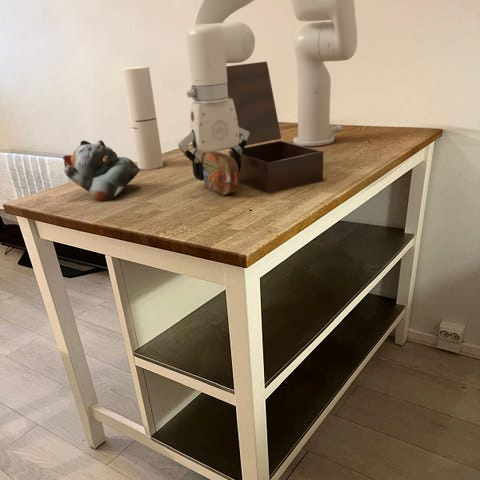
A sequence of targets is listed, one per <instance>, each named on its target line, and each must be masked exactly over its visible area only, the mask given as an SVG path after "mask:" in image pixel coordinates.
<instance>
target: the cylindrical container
mask: <svg viewBox="0 0 480 480" xmlns="http://www.w3.org/2000/svg"><path fill="white" fill-rule="evenodd" d="M120 70H121V76H122V77H121V78H122V82H123V87H124V88H123V89H124V93H125V100H126V105H127V111H128V116H129V123H130V126H131V128H130V129H131V133H132V140H133V144H134V145H133V146H134V152H135V158H136V162H137V167H138V169H140V170H154V169H158V168H162V167H163V166H164V159H163V152H162V145H161V140H160V133H159V132H160V131H159V125H158V119H157V112H156V105H155V98H154V92H153V86H152V85H153V84H152V77H151V72H150V66H147V65H145V66H143V65H142V66H131V67H123V68H121V69H120Z"/></svg>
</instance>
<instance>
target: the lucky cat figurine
mask: <svg viewBox="0 0 480 480" xmlns="http://www.w3.org/2000/svg"><path fill="white" fill-rule="evenodd" d="M62 159H63V164H64V169H63V172H64V174H65V176H66V177H67V178H68V179H69V180H70V181H72V182H73V183H75V184H76V185H77V186H78V187H80V188H82V189H84V190H85V191H87V192H88V193H90V194H91V195H92V197H93V198H94V199H95V200H98V201H100V202H101V201H112V200H113V199H114V198H115V197H116V196H118V195H119V194H120V193H121V192H122V191H123V190H124V189H125V188H126V186H127V185H128V184H130V182H131V181H132V180H134V179H135V177H136V176H137V175H138V173H140V171H141V169H139V168H138V165H137V164H136V163H135V162H134V161H133V160H132V159H131V158H128V157H126V156H120V157H119V156H118V153H116V151H114V150H113V148H111V147H109V146H107V145H106V144H105V142H104V141H103V140H102V139H100V140H99V139H98V140H97V141H96V142H95V143H92V142H89V141H87V140H81V141H80V143H79V145H78V146H77V147H76V149H75V150H74V151H73V153H72V154H70V155H69V154H68V155H67V154H65V155H63V156H62Z"/></svg>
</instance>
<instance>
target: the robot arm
mask: <svg viewBox="0 0 480 480" xmlns="http://www.w3.org/2000/svg"><path fill="white" fill-rule="evenodd" d="M254 1H255V0H202V1H201V2H200V4H199V5H198V8H197V11H196V13H195V16H194V19H193V22H192V25H191V27H190V28H189V29H188V30H187V32H186V43H187V54H188V61H189V63H188V64H189V71H190V72H189V73H190V81H191V88H190V89H189V90H187V92H186V96H187V98H188V99H189V98H191V99H192V100H193V101H192V102H191V103H190V111H189V112H190V116H189V117H190V118H189V121H190V122H189V123H190V127H189V128H190V133H188V134H187V135H186V136H185V137H184V138H183V139H181V140H180V141H179V142H178V144H177V147H178V148H179V149H180V150H181V152H182V154H183V156H185V157H186V158H187V159H188V160H189V161H191V166H192V173H193V176H194V177H195V179H197V180H198V181H204V176H203V166H202V163H201V158H202V155H203V154H204V153H208V152H214V151H216V152H220V151H223V150H232V153H231V157H233V158H234V159H235V161H236V163H237V165H238V169H239V172H241V169H240V167H241V155H240V154H242V152H243V151H242V150H243V149H244V148H245V147H247V145H246V144H247V140H248V137H249V134H250V133H249V131H247V130H244V129H242V128H240V127H238V121H237V115H236V110H235V106H234V103H233V99H232V98H229V95H228V83H227V68H226V66H227V64H239V63H243V62H245V61H247V60H248V59H249V58H251V56H252V54H253V53H254V51H255V46H256V38H255V34H254V31H253V30H252V28H251V27H250V26H249V25H247V24H246V23H244V22H241V21H229V22H224V21H225V20H226V19H227V18H228V17H230V16H231V15H232V14H234V13H236V12H237V11H240V9H242V8H244V7H246V6H247V5H249V4H250V3H252V2H254ZM290 2H291V6H292V11H293V14H294V17H295V19H296V20H298V21H300V22H307V23H305V24H303V25H301V26H300V27H298V29H297V30H296V31H295V34H294V36H293V37H294V38H293V48H294V54H295V55H294V56H295V60H296V71H297V72H296V73H297V136H295V137H293V140H292V143H293V144H297V145H300V146H304V147H319V146H320V147H321V146H325V145H330V144H332V143H334V142H335V136H334V135H333V134H334V133H340V132H342V130H343V126H342V125H341V124H338V125H334V126H333V124H330V118H331V86H332V85H331V84H332V83H331V82H332V81H331V80H332V79H331V75H330V72H329V70H328V68H327V66H326V64H325V63H326V62H342V61H348V60H350V59H351V58H353V57H354V55H355V53H356V51H357V47H358V27H357V17H356V7H355V0H290ZM308 22H309V23H308ZM324 62H325V63H324ZM239 134H240V135H241V139H240V137H239ZM190 144H191V147H192V148H193V150H192V151H191V150H190V149H189V148H188V146H189V145H190ZM229 148H230V149H229Z"/></svg>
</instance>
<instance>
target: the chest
mask: <svg viewBox="0 0 480 480" xmlns="http://www.w3.org/2000/svg"><path fill="white" fill-rule="evenodd" d="M242 151H243V152H242V154H240V155H241V167H240V169H241V172H239V182H241V183H243V184H245V185H248V186H250V187H253V188H255V189H257V190H260V191H263V192H265V193H266V194H271V193H276V192H281V191H284V190H289V189H292V188H296V187H300V186H305V185H309V184H313V183H317V182H321V181H324V153H325V152H324V150H320V149H316V148H312V147H309V146H300V145H297V144H294V143H293V142H289V141H285V140H282V139H279V140H274V141H269V142H264V143H259V144H254V145H249V146H245V147H244V149H243V150H242ZM231 153H232V150H231V149H228V154H229V156H231Z"/></svg>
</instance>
